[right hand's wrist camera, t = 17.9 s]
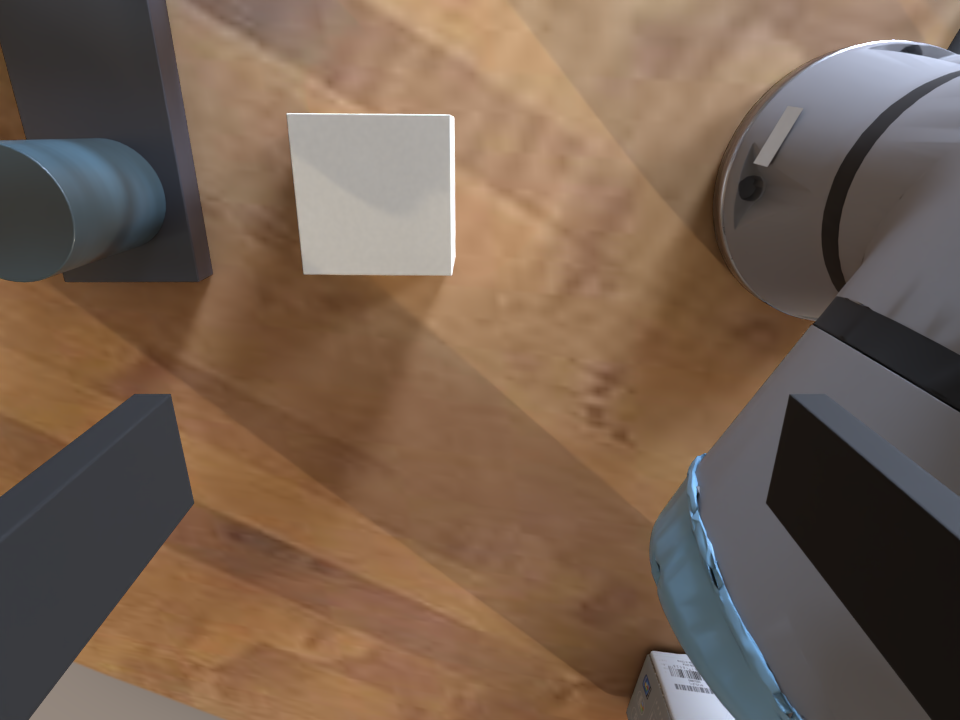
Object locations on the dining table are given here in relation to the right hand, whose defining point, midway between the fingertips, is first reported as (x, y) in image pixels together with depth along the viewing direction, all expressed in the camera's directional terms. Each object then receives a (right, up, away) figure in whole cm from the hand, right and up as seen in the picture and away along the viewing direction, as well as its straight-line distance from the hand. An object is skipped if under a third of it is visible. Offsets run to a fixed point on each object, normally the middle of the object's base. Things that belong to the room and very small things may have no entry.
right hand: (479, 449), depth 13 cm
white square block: (-6, +12, +22) cm, 26 cm away
